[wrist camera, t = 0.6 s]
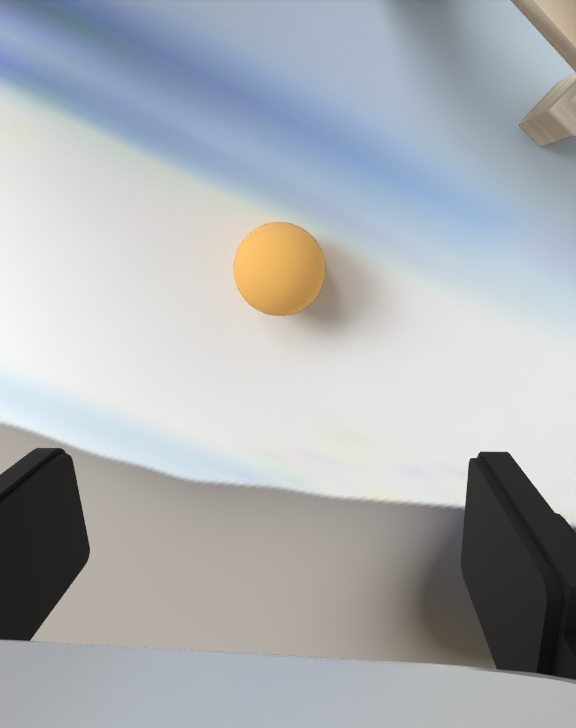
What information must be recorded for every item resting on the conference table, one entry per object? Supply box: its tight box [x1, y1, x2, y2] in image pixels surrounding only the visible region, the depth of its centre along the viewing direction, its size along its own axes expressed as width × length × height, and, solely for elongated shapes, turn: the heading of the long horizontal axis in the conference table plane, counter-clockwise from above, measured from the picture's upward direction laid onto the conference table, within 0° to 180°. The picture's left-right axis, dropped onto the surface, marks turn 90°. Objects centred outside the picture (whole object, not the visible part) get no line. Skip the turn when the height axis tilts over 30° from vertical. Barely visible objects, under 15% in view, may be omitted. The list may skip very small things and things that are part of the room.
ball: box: [234, 222, 326, 316], centre depth 30 cm, size 6×6×6 cm
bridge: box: [511, 0, 576, 147], centre depth 23 cm, size 3×15×10 cm, turn 49°
